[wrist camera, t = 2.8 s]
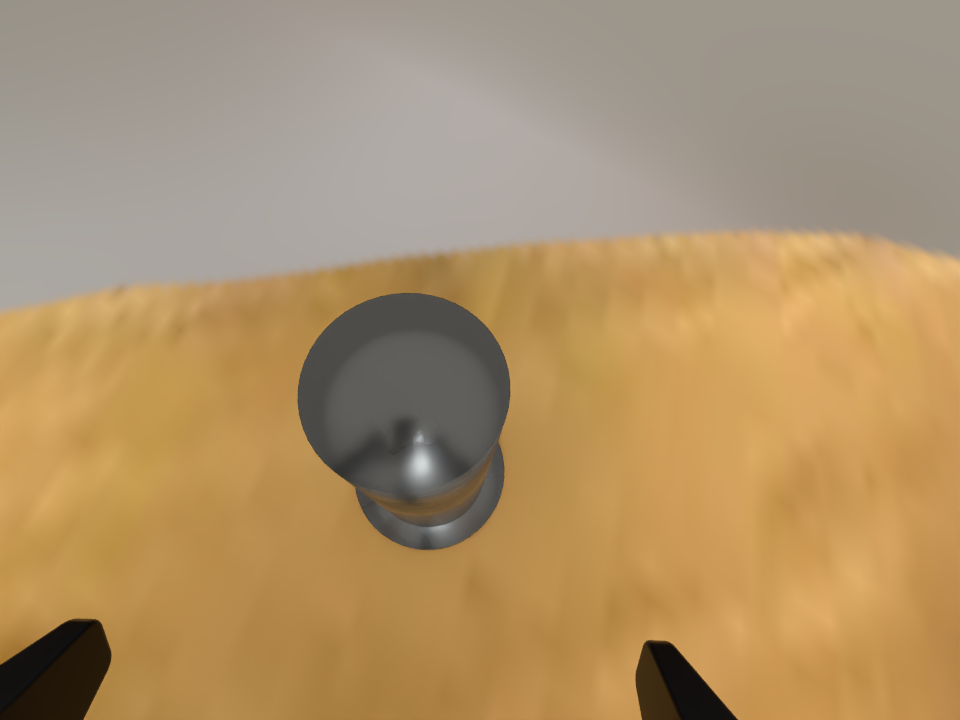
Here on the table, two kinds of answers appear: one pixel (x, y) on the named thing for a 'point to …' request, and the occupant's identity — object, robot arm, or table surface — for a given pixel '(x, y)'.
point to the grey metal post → (410, 415)
